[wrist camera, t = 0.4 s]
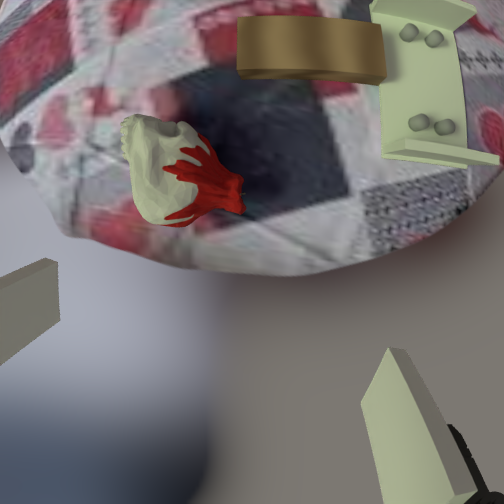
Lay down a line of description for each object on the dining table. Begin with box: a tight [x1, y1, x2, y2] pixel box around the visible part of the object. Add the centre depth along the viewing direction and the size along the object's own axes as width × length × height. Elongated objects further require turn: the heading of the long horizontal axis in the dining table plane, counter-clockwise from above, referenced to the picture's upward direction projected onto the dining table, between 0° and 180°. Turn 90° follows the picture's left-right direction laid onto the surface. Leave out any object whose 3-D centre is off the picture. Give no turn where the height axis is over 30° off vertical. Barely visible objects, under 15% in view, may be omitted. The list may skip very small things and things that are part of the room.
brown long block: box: [237, 16, 387, 86], centre depth 28 cm, size 16×7×4 cm, turn 90°
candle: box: [120, 114, 246, 227], centre depth 31 cm, size 9×11×15 cm
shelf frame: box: [369, 0, 499, 169], centre depth 25 cm, size 21×12×8 cm, turn 0°
